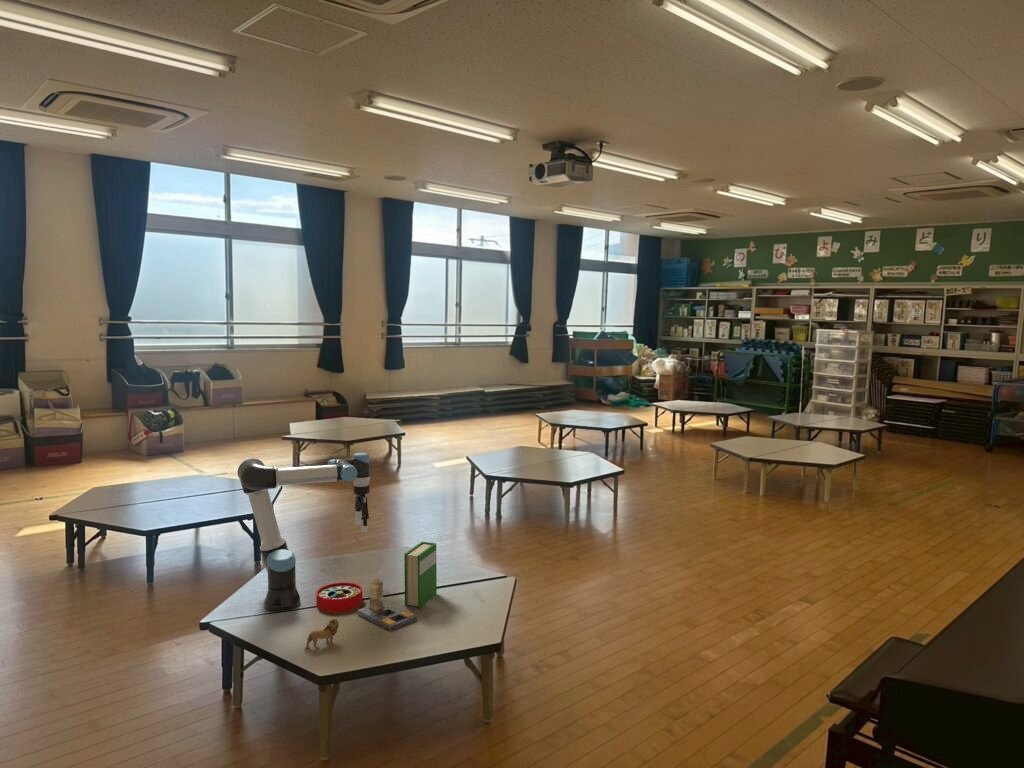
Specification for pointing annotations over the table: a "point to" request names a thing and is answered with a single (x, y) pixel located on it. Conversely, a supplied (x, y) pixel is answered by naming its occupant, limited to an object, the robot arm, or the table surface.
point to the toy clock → (339, 597)
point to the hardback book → (420, 574)
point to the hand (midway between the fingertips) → (361, 528)
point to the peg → (376, 595)
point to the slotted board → (389, 620)
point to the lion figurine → (323, 633)
